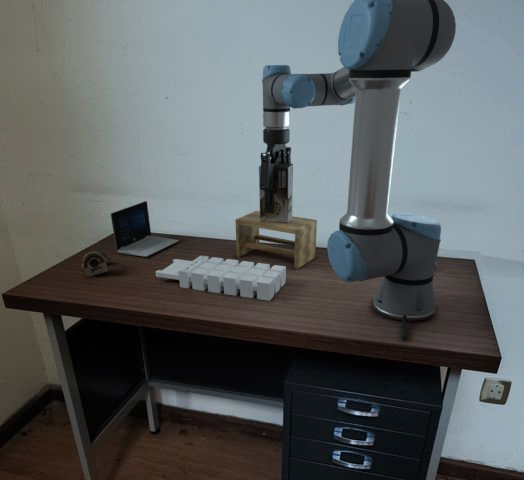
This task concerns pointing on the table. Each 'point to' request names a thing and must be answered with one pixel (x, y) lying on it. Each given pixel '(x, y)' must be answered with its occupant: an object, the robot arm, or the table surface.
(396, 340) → the table surface
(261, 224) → the two-tier rack
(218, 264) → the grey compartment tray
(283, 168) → the coffee box
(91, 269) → the brown rounded piece
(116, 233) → the laptop
